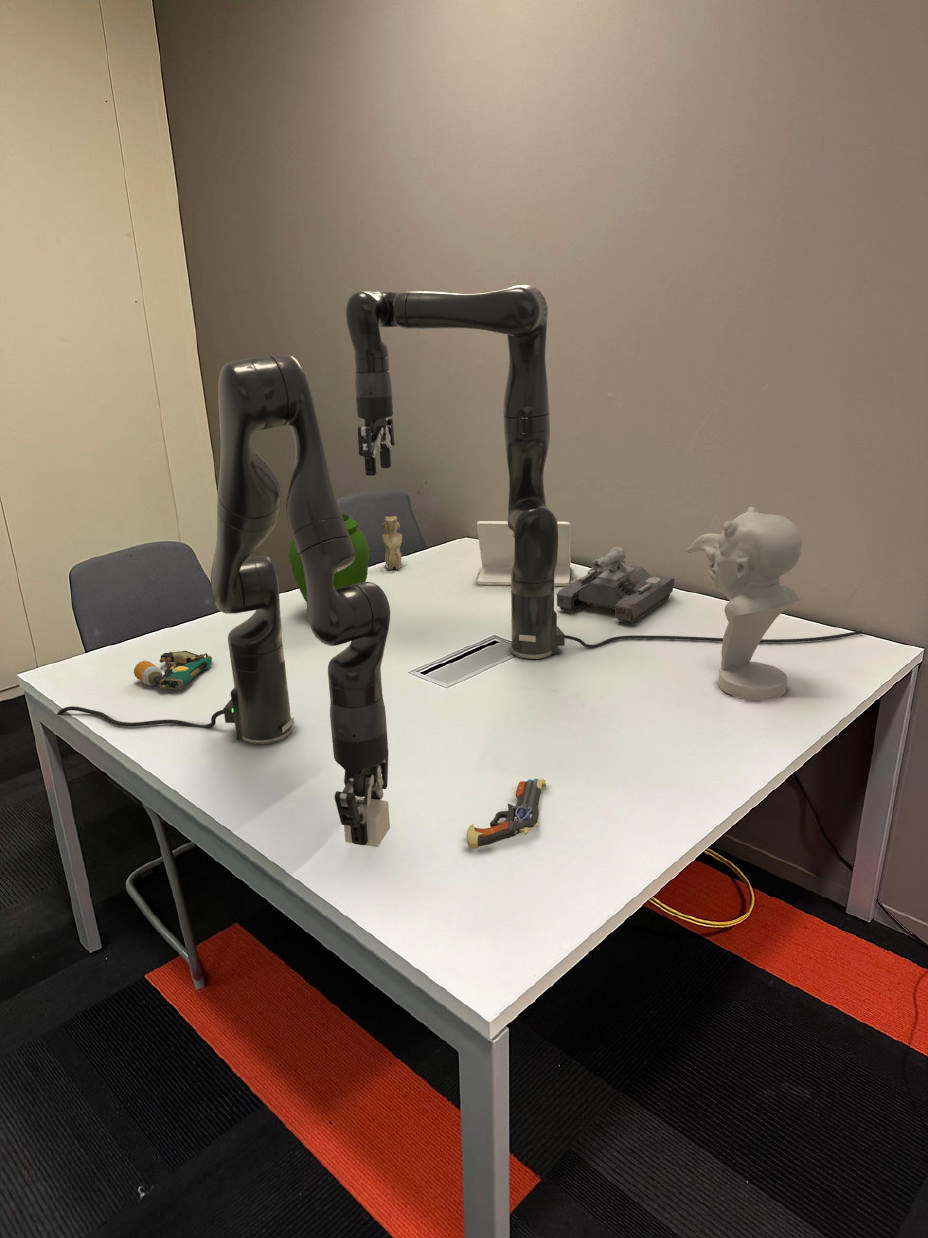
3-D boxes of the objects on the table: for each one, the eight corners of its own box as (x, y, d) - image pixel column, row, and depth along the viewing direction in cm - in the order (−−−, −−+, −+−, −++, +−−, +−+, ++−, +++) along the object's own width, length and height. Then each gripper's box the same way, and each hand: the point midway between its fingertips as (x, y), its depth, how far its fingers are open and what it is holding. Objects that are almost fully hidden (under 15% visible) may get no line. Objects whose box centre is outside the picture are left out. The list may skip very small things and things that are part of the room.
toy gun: (462, 837, 120) (533, 836, 117) (484, 775, 137) (546, 773, 135) (465, 854, 120) (535, 853, 118) (486, 790, 138) (547, 788, 136)
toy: (603, 584, 229) (605, 530, 224) (673, 597, 218) (677, 540, 213) (555, 612, 210) (556, 553, 205) (630, 627, 199) (633, 566, 194)
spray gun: (177, 659, 191) (231, 671, 185) (120, 684, 176) (176, 698, 171) (176, 641, 190) (230, 653, 184) (118, 665, 175) (174, 678, 169)
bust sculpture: (719, 649, 185) (733, 490, 173) (809, 690, 165) (831, 514, 153) (662, 665, 178) (671, 501, 166) (748, 710, 158) (766, 527, 146)
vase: (389, 608, 216) (383, 514, 208) (339, 633, 201) (330, 533, 192) (330, 596, 226) (322, 506, 218) (278, 619, 211) (267, 523, 202)
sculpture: (404, 563, 253) (401, 513, 247) (403, 570, 246) (400, 519, 241) (384, 564, 253) (381, 514, 247) (383, 571, 246) (380, 520, 241)
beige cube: (345, 842, 121) (342, 814, 119) (358, 823, 125) (356, 796, 124) (377, 847, 120) (375, 819, 118) (390, 828, 124) (388, 800, 122)
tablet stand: (569, 585, 229) (570, 524, 223) (476, 584, 232) (475, 523, 226) (570, 566, 246) (571, 508, 240) (484, 564, 249) (483, 507, 243)
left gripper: (363, 755, 109) (372, 866, 115) (403, 706, 122) (409, 809, 128) (310, 748, 111) (322, 858, 117) (354, 701, 124) (363, 802, 130)
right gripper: (377, 397, 170) (382, 478, 176) (402, 390, 183) (406, 465, 188) (343, 397, 172) (349, 477, 178) (370, 390, 185) (375, 465, 191)
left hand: (367, 832), depth 122 cm, fingers closed on beige cube, 5 cm apart
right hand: (378, 471), depth 183 cm, fingers open, 8 cm apart
